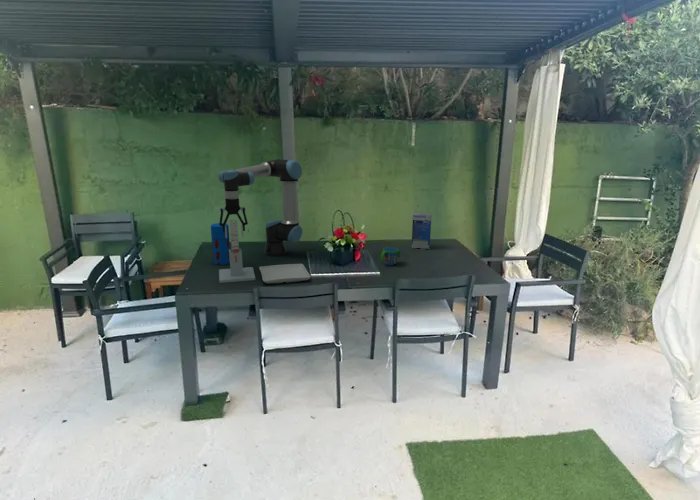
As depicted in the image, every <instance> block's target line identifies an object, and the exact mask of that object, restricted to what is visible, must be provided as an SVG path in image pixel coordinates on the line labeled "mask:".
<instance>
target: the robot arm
mask: <svg viewBox="0 0 700 500" xmlns="http://www.w3.org/2000/svg"><path fill="white" fill-rule="evenodd" d="M302 171H303V169H302V165H301V164H300V162H298V161H297V160H293V159H282V158H277V159H271V160H268V161H263V162H262V163H260V164H257V165H252V166H246V167H241V168H236V169H227V170H221V171H220V172H219V174H218V180H219V182H221V184H223V185H224V198H225V199H224V200H225V207H220V215H219V216H220V217H219V222H218V223H219V225H220V226H222V227H223V232H225V236H226V238H227V230H226V226H225V225H226V224H227V222H228V221H229V220H228V219H229V217H230V216H231V215H236V216H237V218H238V220H239V222H240V223H241V225H240V226H241V228H240V230H241V237H242V238H244V232H245V231H246V227H245V226H247V225H248V224H249V223H248V219H247V215H246V208H245V207H244V206H243V207H242V206H240V199H239V195H240V193H239V187H244V186H251V185H253V184H254V182H255V179H257V178H261V177H265V178H268V177H273V178H274V177H275V178H279V182H280V183H281V184H282V213H283V214H282V215H283V216H282V218H283V219H274V220H273V219H272V220H269V221H267V222H266V223H265V237H266V238H265V239H266V244H265V247H264V252H263V253H264V255H266V256H268V257H269V256H270V257H278V256H283V255H286V254H287V247H286V245H285V242H289V243H297V242H299V241H300V240H301V238H302V236H303V228H302V226H301V225H300V223H299V222H300V221H298V220H297V188H296V187H297V183H298V182H299V179H300V178H301V175H302V174H303V172H302ZM240 211H241V212H242V215H243V218H242V217H241V215H240V213H239V212H240ZM224 212H227V213H226V216H225V218H224V220H223V216H224ZM243 219H244V220H243ZM222 223H223V224H222Z"/></svg>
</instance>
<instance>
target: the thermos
mask: <svg viewBox="0 0 700 500" xmlns="http://www.w3.org/2000/svg"><path fill="white" fill-rule="evenodd" d="M219 223H220V222H216V223H213V224H211V225H210V233H211V234H210V235H211V237H210V238H211V247H212V259H213V264H214V265H216V266H217V265H218V266H225V265H227V264H228V265H230V258H229V250H230V249H231V240H230V229H229V228H230V225H229V224H228V223H226V225H225V226H226V230H227V238H226V236H225V232H223V227H222V226H220V225H219ZM223 223H224V222H222V224H223Z"/></svg>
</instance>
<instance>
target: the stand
mask: <svg viewBox="0 0 700 500" xmlns="http://www.w3.org/2000/svg"><path fill="white" fill-rule="evenodd" d="M229 258H230V263H229V268H221V269H218V278H219V279H218V281H219V284H223V283H235V282H236V283H237V282H247V281H256V275H255V272H254V267H253V266H249V267H248V266H247V267H243V266H244V263H243V251H242V248H239V252H238V250H237V251H233V252H232V250H231V248H230V250H229Z"/></svg>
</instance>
